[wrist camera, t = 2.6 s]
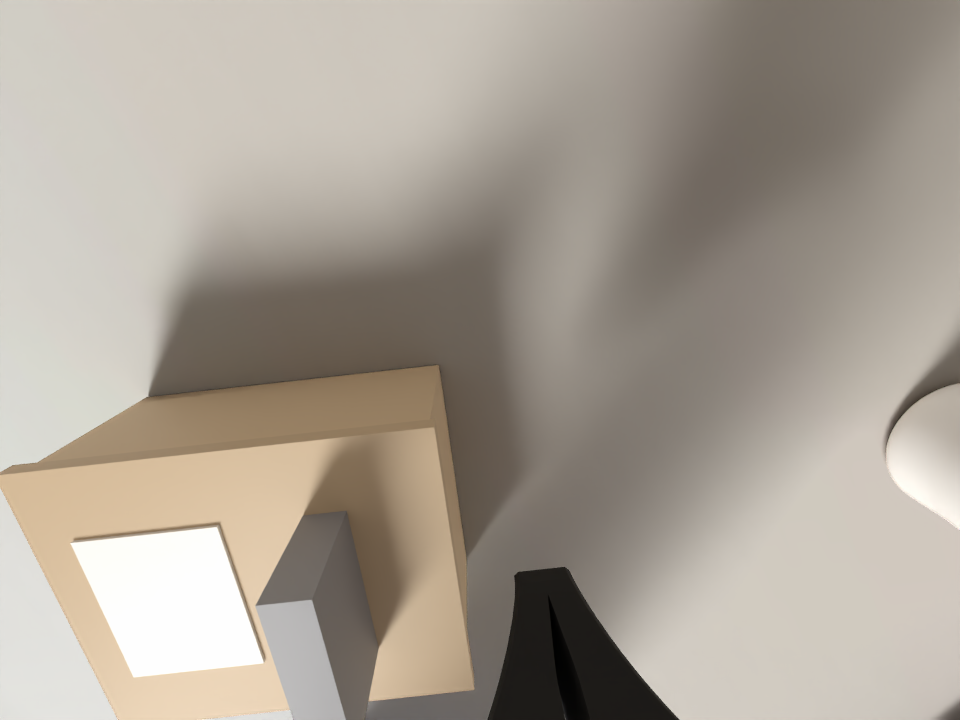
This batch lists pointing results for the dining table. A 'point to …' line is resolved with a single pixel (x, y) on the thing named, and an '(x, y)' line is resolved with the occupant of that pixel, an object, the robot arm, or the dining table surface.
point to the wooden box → (283, 420)
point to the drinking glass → (929, 453)
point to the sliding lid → (255, 572)
